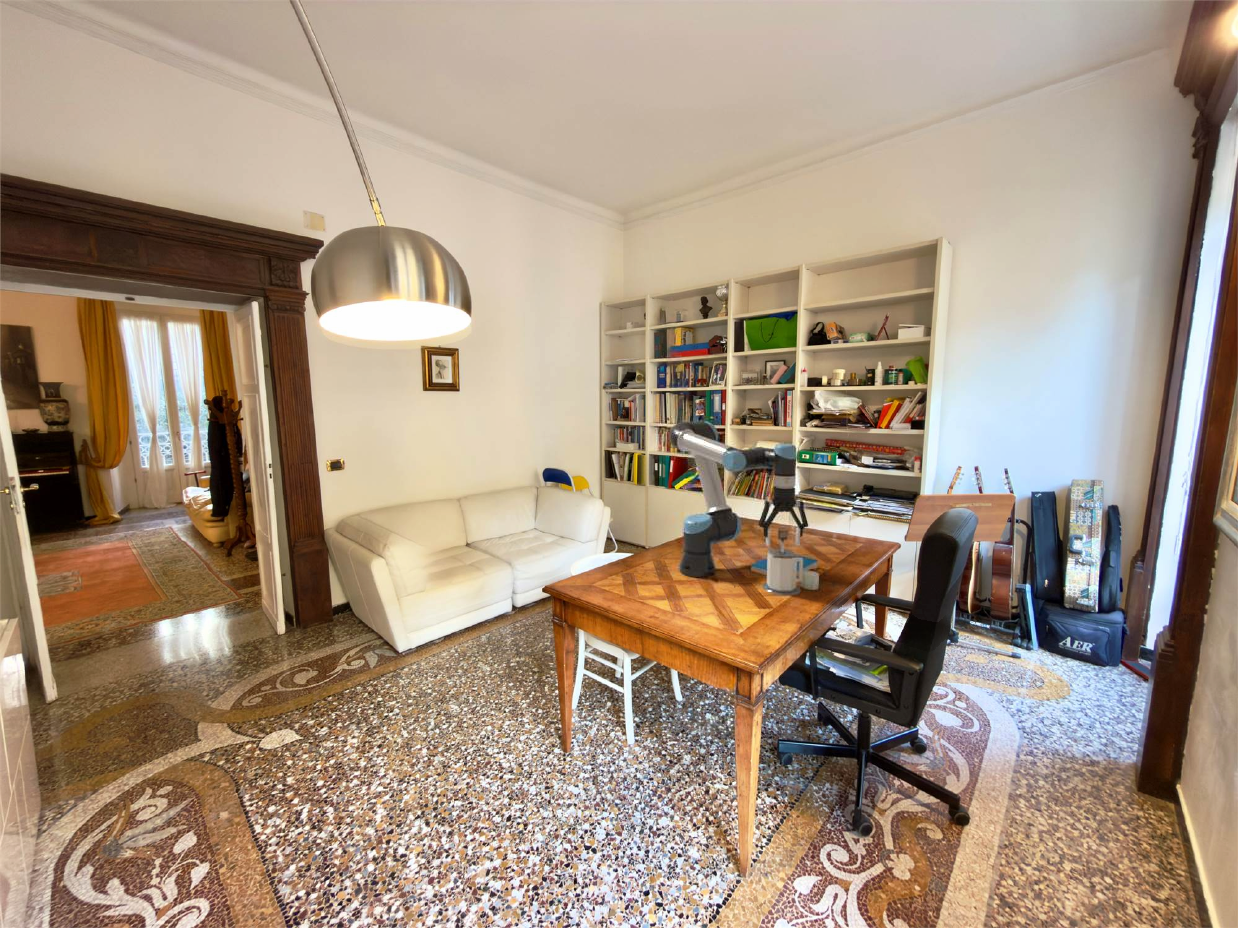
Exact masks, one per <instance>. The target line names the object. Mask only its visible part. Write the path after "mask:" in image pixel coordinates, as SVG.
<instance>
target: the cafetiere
mask: <svg viewBox="0 0 1238 928" xmlns="http://www.w3.org/2000/svg"><path fill="white" fill-rule="evenodd" d="M767 550H768V551H767V557H766V558H767V575H766V582H767V588H768V589H769V590H771V591H774V592H777V593H792V592H794V591H796V585H797V583H802V573H803V558H797V555H798V554H797V553H795V552H794V551H793V550H792V549H788V548H787V549H785V548H784V554H781V548H773V549H772V548H770V549H767ZM797 561H799V575H798V576H797Z"/></svg>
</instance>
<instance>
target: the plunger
mask: <svg viewBox="0 0 1238 928" xmlns="http://www.w3.org/2000/svg"><path fill="white" fill-rule="evenodd" d="M777 539H779V540H780V549H781V554H784V549H785V540H788V539H789V529H787V528H786V529H785V528H779V529H778V530H777Z"/></svg>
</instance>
